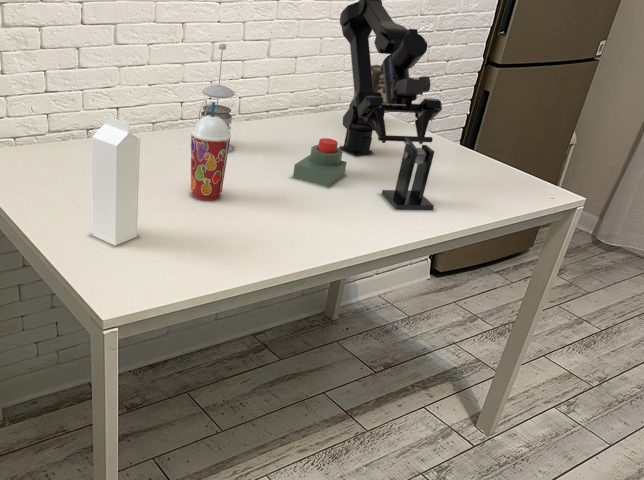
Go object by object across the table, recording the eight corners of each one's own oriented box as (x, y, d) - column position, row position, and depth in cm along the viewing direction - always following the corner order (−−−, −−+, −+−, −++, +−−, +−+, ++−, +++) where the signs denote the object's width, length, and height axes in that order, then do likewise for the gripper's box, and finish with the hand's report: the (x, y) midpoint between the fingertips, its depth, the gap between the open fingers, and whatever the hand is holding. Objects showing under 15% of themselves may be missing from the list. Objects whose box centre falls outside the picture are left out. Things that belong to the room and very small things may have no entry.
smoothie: (229, 193, 163) (239, 101, 152) (217, 205, 156) (226, 110, 145) (194, 185, 165) (201, 94, 154) (180, 197, 158) (187, 103, 147)
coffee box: (364, 128, 216) (376, 72, 207) (347, 122, 219) (358, 66, 211) (383, 124, 222) (394, 69, 213) (365, 118, 225) (376, 63, 216)
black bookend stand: (381, 194, 172) (393, 140, 165) (416, 195, 174) (430, 141, 167) (395, 210, 164) (409, 154, 157) (432, 210, 166) (447, 155, 159)
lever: (376, 141, 168) (379, 131, 167) (428, 143, 171) (432, 133, 170) (391, 163, 161) (394, 153, 160) (445, 164, 164) (449, 154, 163)
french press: (239, 147, 190) (250, 45, 177) (215, 157, 182) (225, 51, 168) (208, 138, 194) (216, 37, 181) (182, 147, 186) (189, 42, 172)
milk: (114, 227, 143) (116, 112, 131) (137, 237, 140) (141, 120, 128) (91, 235, 138) (91, 117, 126) (115, 246, 136) (117, 126, 124)
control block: (311, 165, 184) (315, 141, 181) (345, 174, 181) (349, 150, 178) (292, 178, 175) (296, 153, 172) (327, 187, 172) (331, 162, 169)
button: (321, 147, 179) (323, 136, 178) (338, 151, 177) (340, 141, 176) (314, 151, 176) (316, 140, 174) (331, 156, 174) (333, 145, 173)
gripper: (373, 59, 162) (379, 126, 160) (450, 63, 166) (457, 129, 164) (354, 84, 173) (359, 147, 171) (427, 88, 177) (433, 149, 175)
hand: (403, 143), depth 170 cm, fingers open, 9 cm apart
